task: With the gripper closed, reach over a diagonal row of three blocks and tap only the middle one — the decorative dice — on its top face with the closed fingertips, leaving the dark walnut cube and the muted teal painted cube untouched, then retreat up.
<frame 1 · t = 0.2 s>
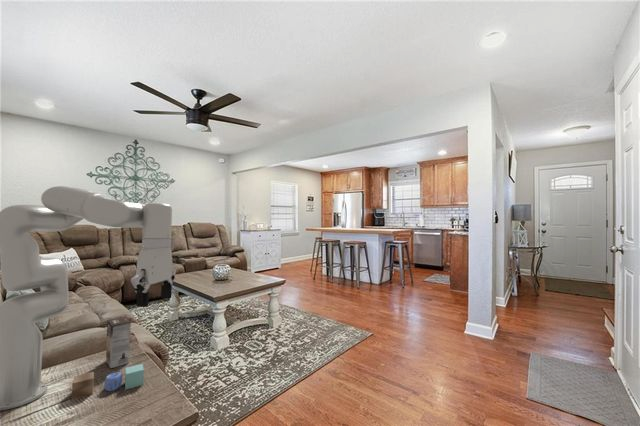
hand: (154, 302, 84), 31 cm above the table, fingers open, 9 cm apart
teal block: (134, 383, 96), on the table
coffee box: (117, 362, 111), on the table
decorative dice: (113, 388, 93), on the table
walnut block: (82, 393, 90), on the table
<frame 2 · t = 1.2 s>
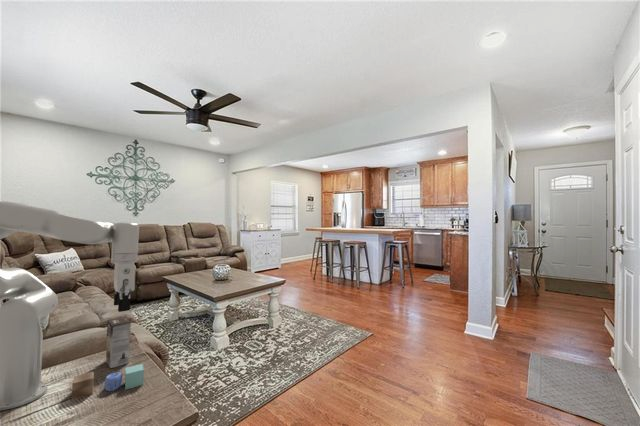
hand: (121, 307, 97), 25 cm above the table, fingers open, 9 cm apart
nothing on the table moved.
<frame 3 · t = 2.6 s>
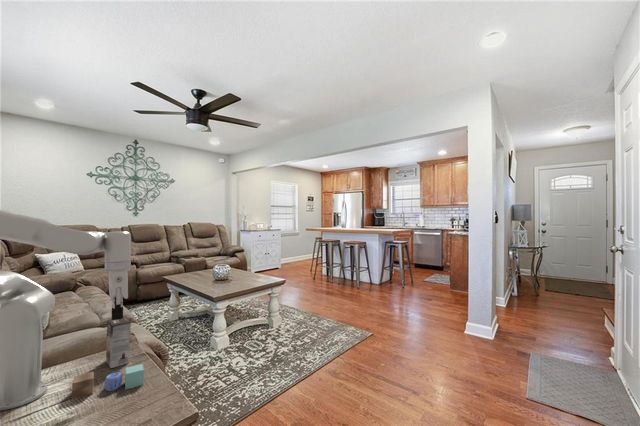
hand: (117, 318, 99), 21 cm above the table, fingers closed
nothing on the table moved.
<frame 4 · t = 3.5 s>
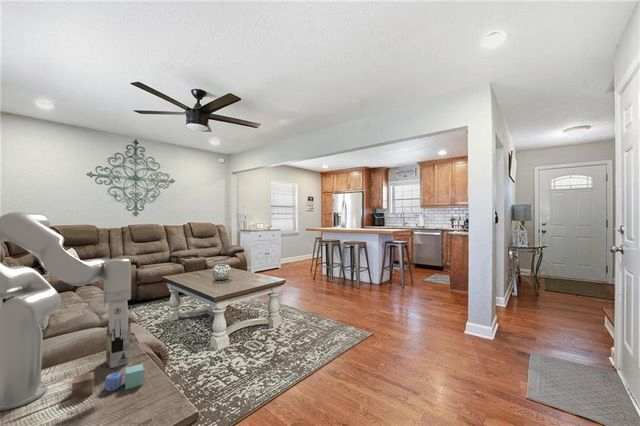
hand: (117, 351, 94), 12 cm above the table, fingers closed
nothing on the table moved.
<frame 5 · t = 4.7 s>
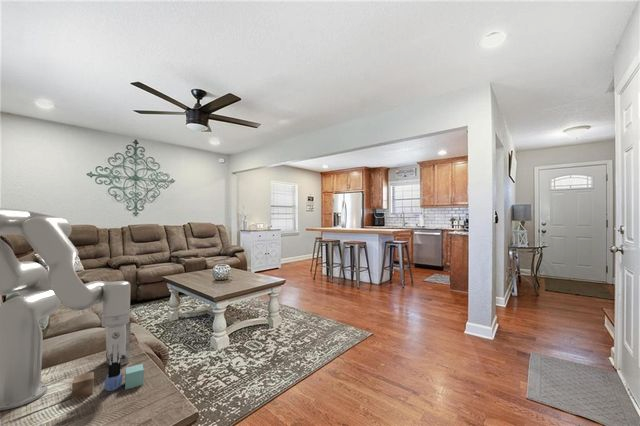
hand: (114, 375, 93), 4 cm above the table, fingers closed
decorative dice: (113, 388, 93), on the table, touching gripper
everything else where it was.
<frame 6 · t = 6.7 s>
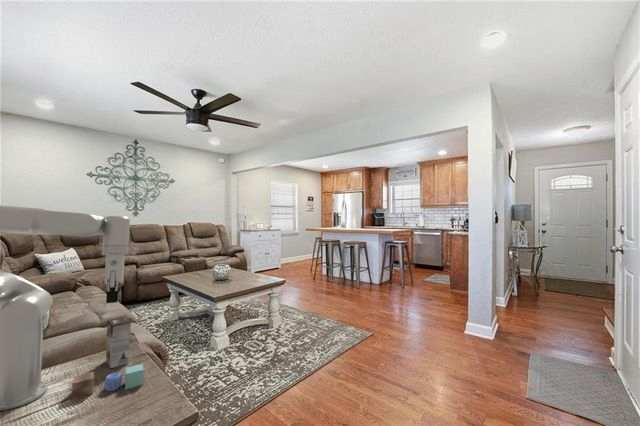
hand: (111, 302, 100), 27 cm above the table, fingers closed
decorative dice: (113, 388, 93), on the table
everything else where it was.
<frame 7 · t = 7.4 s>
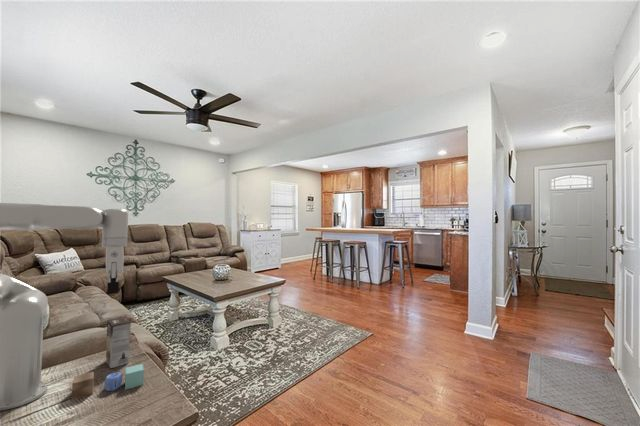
hand: (112, 292, 102), 29 cm above the table, fingers closed
nothing on the table moved.
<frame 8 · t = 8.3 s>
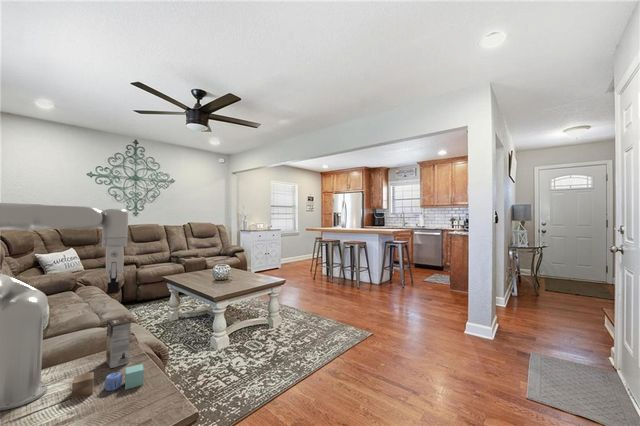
hand: (112, 292, 102), 29 cm above the table, fingers closed
nothing on the table moved.
at the end: decorative dice moved 0.3 cm from its start; walnut block moved 0.1 cm from its start; teal block moved 0.1 cm from its start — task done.
